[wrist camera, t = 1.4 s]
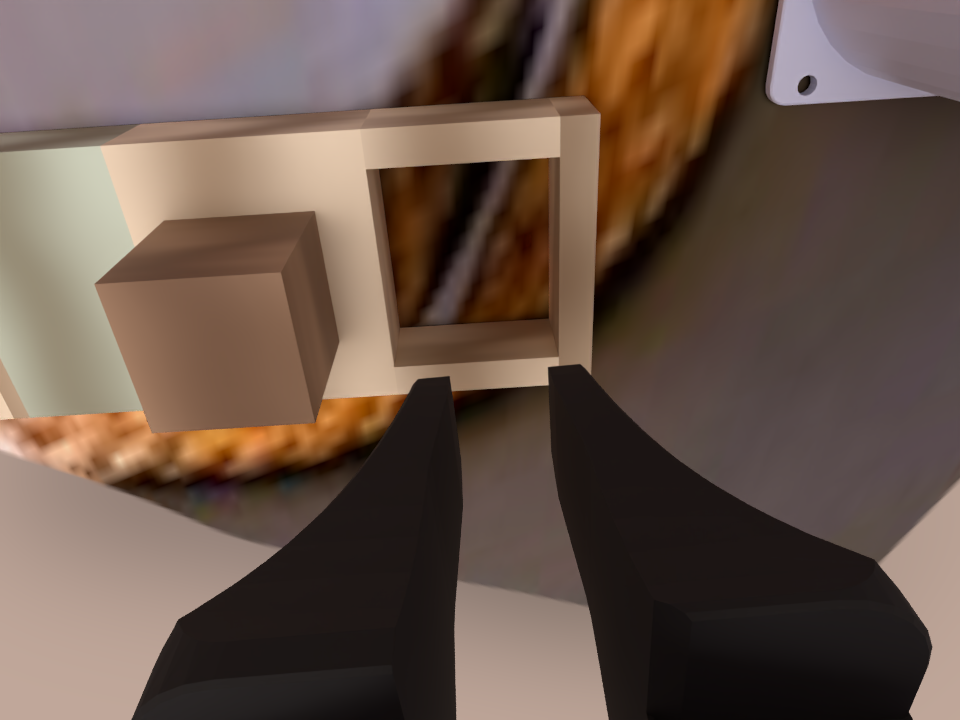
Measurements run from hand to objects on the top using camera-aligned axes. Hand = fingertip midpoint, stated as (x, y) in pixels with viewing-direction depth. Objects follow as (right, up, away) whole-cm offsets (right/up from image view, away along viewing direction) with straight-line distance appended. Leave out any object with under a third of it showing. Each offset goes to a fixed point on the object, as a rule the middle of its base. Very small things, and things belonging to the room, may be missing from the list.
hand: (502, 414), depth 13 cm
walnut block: (-7, +3, +6) cm, 9 cm away
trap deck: (-9, +4, +8) cm, 13 cm away
